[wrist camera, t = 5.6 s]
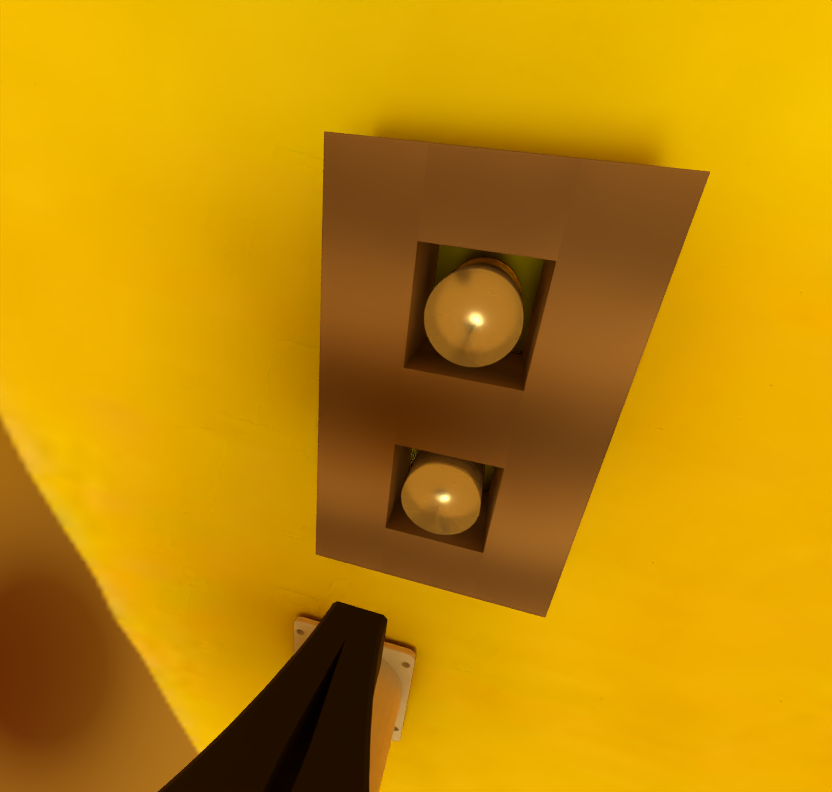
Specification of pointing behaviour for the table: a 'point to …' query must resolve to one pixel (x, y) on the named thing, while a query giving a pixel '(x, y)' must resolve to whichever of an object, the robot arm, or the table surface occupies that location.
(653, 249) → the socket block
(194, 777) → the robot arm
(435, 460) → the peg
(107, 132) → the table surface
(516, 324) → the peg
